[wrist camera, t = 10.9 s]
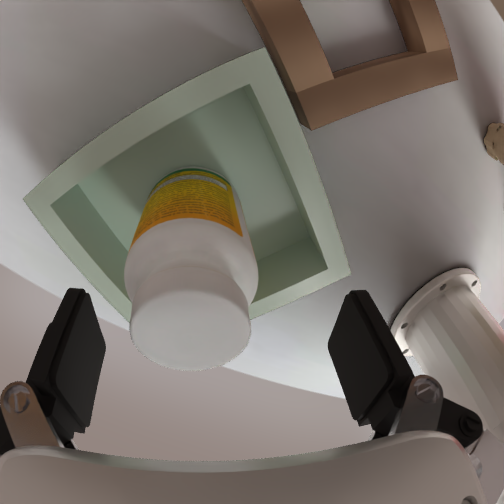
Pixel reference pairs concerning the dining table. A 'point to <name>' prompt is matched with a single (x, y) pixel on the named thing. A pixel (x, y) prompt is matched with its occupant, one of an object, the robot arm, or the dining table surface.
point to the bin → (207, 156)
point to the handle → (495, 141)
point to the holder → (356, 77)
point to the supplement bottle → (191, 272)
